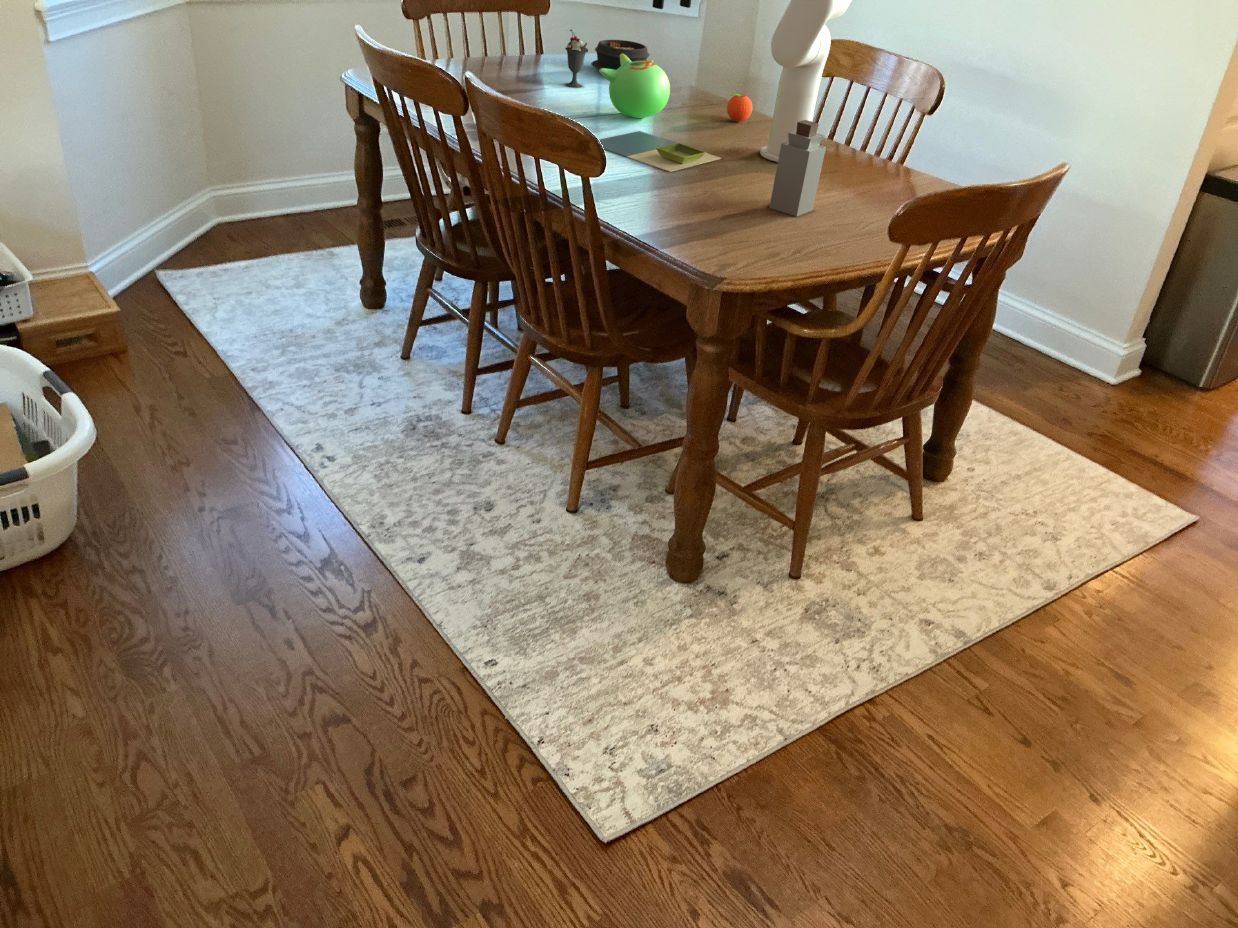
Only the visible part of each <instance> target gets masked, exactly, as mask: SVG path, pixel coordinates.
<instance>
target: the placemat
mask: <svg viewBox="0 0 1238 928" xmlns="http://www.w3.org/2000/svg"><path fill="white" fill-rule="evenodd" d="M598 140H600V142H601V144H602V145H603V148H604V149H603V150H605V151H608V152H611V153H614V154H616V155H619V156H622V157H625V158H628V159H632V160H634V161H637V162H640V163H643V164H646V165H647V166H648V165H649V166H651V167H654V168H656V169H660V170H663V171H666V172H668V173H672V172H675V171H679V170H683V169H687V168H691V167H695V166H699V165H702V164H706V163H710V162H715V161H718V160H722V157H720V156H716V155H713V154H711V153H708V152H706V153H705V154H704V155H703V156H702V157H701V158H700V159H698V160H696V161H692V162H688V163H684V164H680V163H678V162H675V161H672V160H669V159H666V158H664V157H662V156H661V155H660V154H659V153H658V151H657V149H656V148H657V147H661V146H666V145H670V144H675V143H676V142H674V141H672V140H668V139H665V138H663V137H658V136H657V135H653V134H651V133H650V134H649V133H647V132H643V131H640V130H639V131H633V132H629V133H624V134H620V135H615V136H610V137H605V138H600V139H598Z"/></svg>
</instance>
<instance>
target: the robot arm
mask: <svg viewBox="0 0 1238 928" xmlns="http://www.w3.org/2000/svg"><path fill="white" fill-rule="evenodd" d="M852 1H853V0H790V1H789V4H787V7H786V9H785V11H784V13H783V15H782V16H781V18H780V20H779V23H778V24H777V26H776V28H775V30H774V32H773V34H772V37H771V42H770V52H771V56H772V58H773V60H774V61H775V62H776V63H777V64H778V65H779V66H781V67H782V69H781V73H780V76H779V80H778V87H777V92H776V97H775V103H774V109H773V114H772V119H771V126H770V130H769V137H768V142H767V143H768V144H767V145H765V146H762V147H761V148H760V152H759V153H760V156H761V157H763V158H764V159H767V160H768V161H772V162H776V163H778V159H779V154H780V148H781V143H785V142H788V141H789V139H788V132H792V131H796V130H797V122H799V121H803V120H808V121H812V122H813V119H814V115H815V110H816V103H817V99H818V94H819V91H820V85H821V80H822V77H823V72H824V69H825V66H826V62H827V59H828V57H829V54H830V49H831V44H832V43H831V42H832V41H831V40H832V39H831V33H830V30H829V28H828V27H827V25H826V24H827V22H828V21H833V20H836V19H838V18H840V17H842V16H843V15H844V14H845V13H846V12H847V10H848V8H849V6H850V5H851V3H852ZM664 5H665V0H652V6H651V7H652V8H654V9H658V10H663V9H664V7H665V6H664ZM691 5H692V0H679V6H680V7H682V8H687V9H690V8H691Z"/></svg>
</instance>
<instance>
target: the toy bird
mask: <svg viewBox="0 0 1238 928" xmlns="http://www.w3.org/2000/svg"><path fill="white" fill-rule="evenodd" d="M654 62H655V61H654V60H652V59H651V60H646V61H641V60H637V61H634V62H632V61H631V60H630V59H629V58H628V57H627V56H626V55H625V54H620V63H621V67H619V68H618V69H617V70H614V69H606V68H601V69H600V70H599V69H598V72H599V74H600V75H602V77H604V78H605V79H606V80H607V81H609V85H608V95H609V99H610V102H611V103H612V105H613V107H614V108H615V109H616V110H617V111H618V112H619V113H620V114H622V115H624V116H625V117H630V118H633V119H645V118H649V117H652V116H655V115H657V114H658V113H660V112H661V111H662V110H663V109H664V108H665V107H666V106H667V104H668V101H669V98H670V95H671V86H670V81H669V78H668V75H667V74H666V72H665V71H664V70H663V68H661V67H660V66H659V65H657V64H654Z"/></svg>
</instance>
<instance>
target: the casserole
mask: <svg viewBox="0 0 1238 928" xmlns="http://www.w3.org/2000/svg"><path fill="white" fill-rule="evenodd" d="M594 51H595V52H596V60H593V61H591V63H590V64H591V66H592V67H593V68H594V69H597V70H598V71H599V70H600V69H601V68H606V69H614V70H617V69H618V68H619V67H621V63H620V54H625V55H626V56H627V57H628V58H629V59H630V60H631V61H632V62H634V61H637V60H641V61H648V58H649V57H650V53H649V51H648V46H646V45H645V44H642V43H639V42H636V41H630V40H624V39H604V40H600V41H598V43H597V45H596V47H595V48H594Z"/></svg>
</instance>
